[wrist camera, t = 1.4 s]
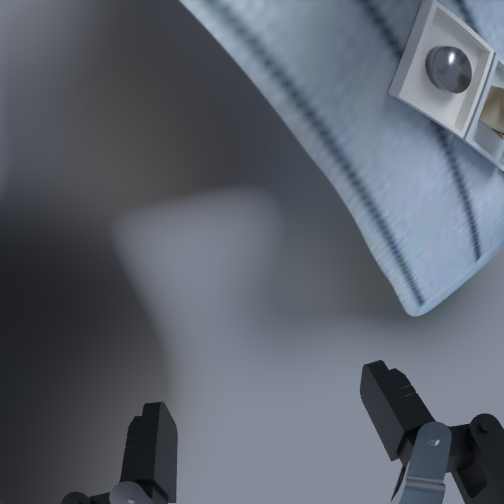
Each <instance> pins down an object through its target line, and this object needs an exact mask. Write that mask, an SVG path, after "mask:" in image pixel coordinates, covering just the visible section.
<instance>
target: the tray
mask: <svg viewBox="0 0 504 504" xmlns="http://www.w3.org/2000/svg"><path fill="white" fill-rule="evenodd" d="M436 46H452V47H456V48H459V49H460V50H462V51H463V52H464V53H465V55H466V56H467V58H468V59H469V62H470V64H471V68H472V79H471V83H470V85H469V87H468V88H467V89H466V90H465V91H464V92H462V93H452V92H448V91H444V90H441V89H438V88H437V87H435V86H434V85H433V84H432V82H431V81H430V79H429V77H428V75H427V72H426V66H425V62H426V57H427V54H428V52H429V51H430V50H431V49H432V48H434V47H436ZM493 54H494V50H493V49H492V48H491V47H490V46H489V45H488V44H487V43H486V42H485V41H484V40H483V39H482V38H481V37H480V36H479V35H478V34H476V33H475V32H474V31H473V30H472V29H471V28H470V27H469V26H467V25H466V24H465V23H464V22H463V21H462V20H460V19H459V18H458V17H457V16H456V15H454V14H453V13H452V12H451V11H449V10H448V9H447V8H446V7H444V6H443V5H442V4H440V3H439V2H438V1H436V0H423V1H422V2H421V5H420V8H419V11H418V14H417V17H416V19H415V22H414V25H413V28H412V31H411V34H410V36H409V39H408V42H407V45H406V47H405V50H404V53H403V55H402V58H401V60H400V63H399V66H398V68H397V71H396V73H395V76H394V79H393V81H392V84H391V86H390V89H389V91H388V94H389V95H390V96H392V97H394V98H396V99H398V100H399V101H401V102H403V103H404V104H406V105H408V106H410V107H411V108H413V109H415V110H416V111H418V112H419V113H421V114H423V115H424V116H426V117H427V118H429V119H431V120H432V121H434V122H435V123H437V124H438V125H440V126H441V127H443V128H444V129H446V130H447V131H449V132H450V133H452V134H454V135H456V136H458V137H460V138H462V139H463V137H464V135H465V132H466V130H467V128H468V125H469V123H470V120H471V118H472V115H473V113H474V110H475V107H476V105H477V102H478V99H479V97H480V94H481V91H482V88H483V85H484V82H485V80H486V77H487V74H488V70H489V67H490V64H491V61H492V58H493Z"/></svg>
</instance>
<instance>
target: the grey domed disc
mask: <svg viewBox="0 0 504 504" xmlns="http://www.w3.org/2000/svg"><path fill="white" fill-rule="evenodd" d="M425 66H426V72H427V75H428V77H429V79H430V81H431V82H432V84H433V85H434V86H435V87H437V88H438V89H441V90H444V91H448V92H452V93H462V92H464V91H465V90H466V89H467V88H468V87H469V85H470V83H471V79H472V68H471V64H470V62H469V59H468V58H467V56H466V55H465V53H464V52H463V51H462V50H460V49H459V48H456V47H452V46H436V47H434V48H432V49H431V50H430V51H429V52H428V54H427V57H426V62H425Z"/></svg>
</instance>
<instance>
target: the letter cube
mask: <svg viewBox="0 0 504 504" xmlns="http://www.w3.org/2000/svg"><path fill="white" fill-rule="evenodd" d="M479 120H480V121H481V122H482V123H483V124H484V125H485V126H487V127H488V128H489V129H490V130H491V131H492V132H493V133H494V134H495V135H497V136H498V137H499V138H500V139H502V140H504V89H503V88H500V87H496V86H492V85H491V87H490V90H489V93H488V96H487V98H486V101H485V104H484V107H483V109H482V112H481V115H480V117H479Z"/></svg>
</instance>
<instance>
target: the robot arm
mask: <svg viewBox="0 0 504 504" xmlns="http://www.w3.org/2000/svg"><path fill="white" fill-rule="evenodd" d="M360 394H361V399H362V401H363V404H364V406H365V408H366V410H367V412H368V414H369V416H370V418H371V420H372V422H373V424H374V426H375V428H376V430H377V432H378V434H379V437H380V439H381V441H382V443H383V445H384V447H385V449H386V451H387V453H388V455H389V457H390V460H391V461H394V460H396V459H399V458H400V460H401V462H402V466H401V469H400V472H399V475H398V478H397V481H396V484H395V487H394V490H393V492H392V495H391V498H390V501H389V503H388V504H442V502H443V498H444V494H445V488H446V487H445V484H443V480H444V476H445V473H447V472H451V474H452V476H453V478H454V480H455V482H456V484H457V487H458V488H459V491H460V493H461V495H462V498H463V500H464V502H465V504H504V429H503V428H502V426H501V424H500V423H499V421H498V420H497V419H496V418H495V417H494V416H493V415H490V414H480V415H477V416H476V417H474V418H473V420H472V421H471V423H470V424H465V425H459V426H452V427H449V426H446V425H445V424H443V423H440V422H436V421H435V420H434V419H433V417H432V416H431V414H430V412H429V411H428V409H427V408H426V406H425V405H424V403H423V402H422V400H421V398H420V397H419V395H418V394H417V393H416V391H415V389H414V388H413V386H411V383H410V382H409V380H408V379H407V377H406V376H405V374H403V373H402V372H400V371H399V370H397V369H396V368H394V369H391V370H389V369H388V368H387V366H386V365H385V363H384V362H383V361H382V360H379V361H375V362H372V363H369V364H365V365H364V366H363V370H362V378H361V385H360ZM177 441H178V434H177V428H176V424H175V422H174V420H173V418H172V417H171V415H170V413H169V411H168V409H167V407H166V405H165V404H164V402H155V403H145V405H144V407H143V413H142V416H135V417H134V419H133V421H132V422H131V423H130V425H129V427H128V433H127V439H126V448H125V452H124V458H123V465H122V472H121V478H120V482H119V483H118V484H116V485H115V486H114V487H113V488H112V489H111V491H110V492H108V493H105V494H100V495H96V496H91V497H87V496H86V495H84V494H83V493H80V492H71V493H69V494H67V495H66V496H65V497H64V498H63V500H62V503H61V504H168V503H176V477H177Z"/></svg>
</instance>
